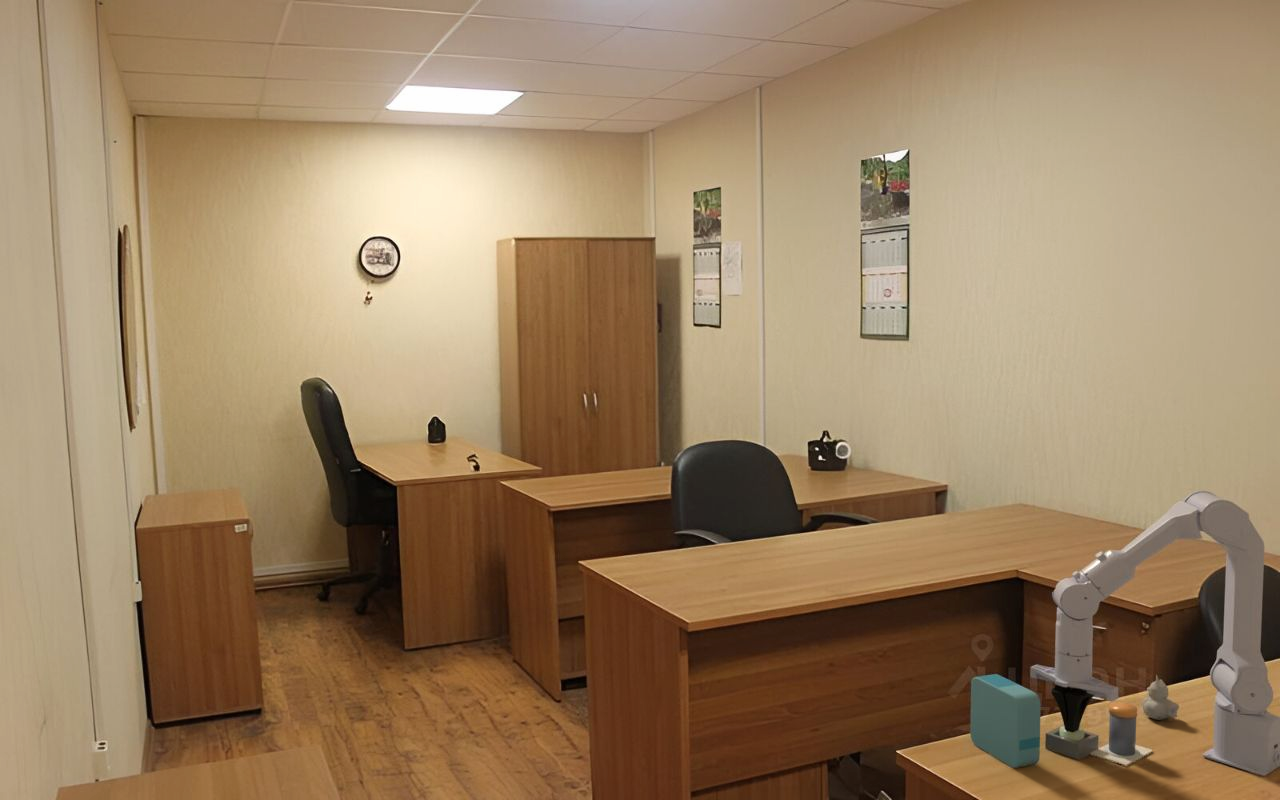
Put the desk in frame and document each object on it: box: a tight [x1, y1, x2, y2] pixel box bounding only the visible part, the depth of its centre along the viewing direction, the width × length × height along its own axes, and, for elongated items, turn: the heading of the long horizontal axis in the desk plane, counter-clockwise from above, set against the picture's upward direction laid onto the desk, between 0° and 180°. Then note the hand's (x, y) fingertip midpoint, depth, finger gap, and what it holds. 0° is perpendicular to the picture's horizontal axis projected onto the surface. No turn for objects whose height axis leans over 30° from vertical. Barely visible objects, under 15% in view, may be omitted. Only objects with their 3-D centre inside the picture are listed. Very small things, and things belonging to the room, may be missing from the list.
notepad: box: [1089, 743, 1154, 767], centre depth 170 cm, size 6×9×1 cm, turn 127°
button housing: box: [1045, 724, 1099, 761], centre depth 172 cm, size 6×6×3 cm
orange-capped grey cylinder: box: [1108, 701, 1138, 756], centre depth 170 cm, size 4×4×8 cm
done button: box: [1059, 725, 1085, 742], centre depth 172 cm, size 4×4×3 cm
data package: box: [970, 673, 1041, 769], centre depth 170 cm, size 12×4×12 cm, turn 20°
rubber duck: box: [1141, 674, 1180, 721], centre depth 184 cm, size 5×7×8 cm
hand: (1071, 730), depth 172 cm, fingers closed, pressing on done button
